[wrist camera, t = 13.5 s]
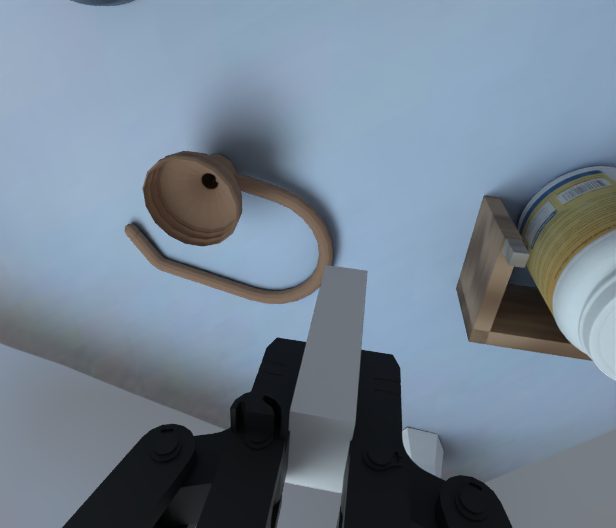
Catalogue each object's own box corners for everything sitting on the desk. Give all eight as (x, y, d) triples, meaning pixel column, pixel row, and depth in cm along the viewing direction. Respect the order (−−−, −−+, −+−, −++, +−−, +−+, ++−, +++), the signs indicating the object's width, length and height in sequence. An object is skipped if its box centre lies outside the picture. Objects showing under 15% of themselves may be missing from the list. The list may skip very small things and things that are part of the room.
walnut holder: (483, 195, 43) (511, 251, 33) (703, 222, 41) (800, 290, 31) (456, 288, 49) (472, 359, 39) (647, 316, 47) (715, 397, 37)
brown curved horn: (314, 307, 55) (366, 171, 44) (301, 360, 48) (359, 214, 36) (133, 248, 55) (138, 95, 43) (92, 292, 48) (85, 122, 36)
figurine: (405, 467, 65) (410, 608, 50) (382, 432, 62) (379, 571, 47) (451, 458, 63) (471, 604, 48) (429, 421, 60) (443, 564, 44)
